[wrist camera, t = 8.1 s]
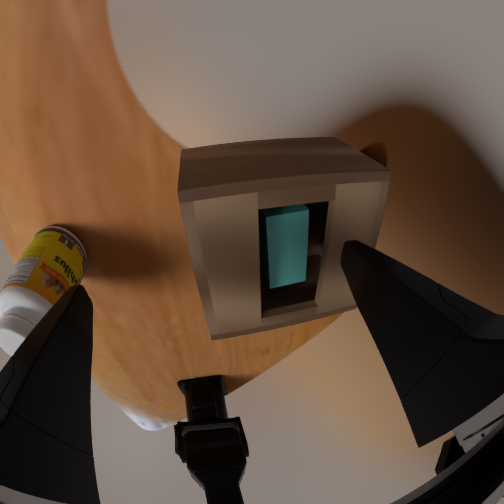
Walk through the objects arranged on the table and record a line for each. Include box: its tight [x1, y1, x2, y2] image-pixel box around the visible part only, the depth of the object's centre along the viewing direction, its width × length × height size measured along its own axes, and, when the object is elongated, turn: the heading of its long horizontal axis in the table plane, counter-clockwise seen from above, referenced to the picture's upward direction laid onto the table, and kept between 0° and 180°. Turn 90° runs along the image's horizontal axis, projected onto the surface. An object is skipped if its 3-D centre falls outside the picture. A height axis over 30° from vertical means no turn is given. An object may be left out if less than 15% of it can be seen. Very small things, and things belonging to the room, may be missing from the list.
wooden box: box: [178, 137, 392, 340], centre depth 18 cm, size 11×11×7 cm
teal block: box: [258, 204, 309, 289], centre depth 18 cm, size 6×2×5 cm, turn 4°
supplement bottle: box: [0, 226, 87, 357], centre depth 15 cm, size 6×6×10 cm
